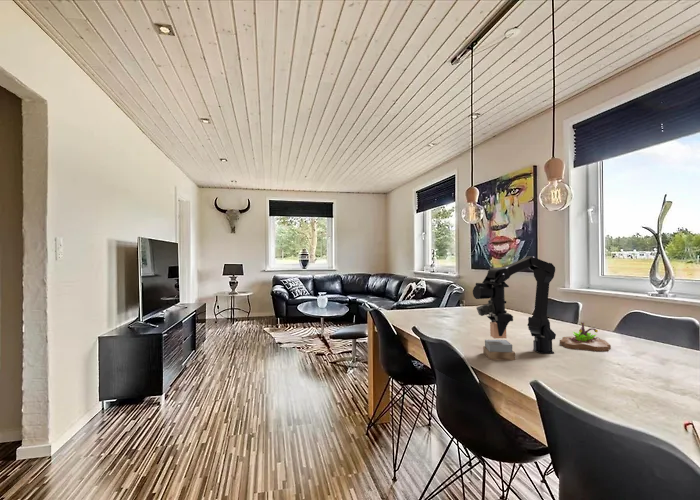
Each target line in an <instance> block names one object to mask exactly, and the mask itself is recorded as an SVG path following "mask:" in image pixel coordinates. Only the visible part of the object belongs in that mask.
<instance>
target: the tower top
mask: <svg viewBox="0 0 700 500" xmlns="http://www.w3.org/2000/svg"><path fill="white" fill-rule="evenodd" d="M484 346H485V347H486V348H487V349H488V350H489V352H512V351H513V344H512V343H511V342H510V341H508V339H487V338H486V339H484Z"/></svg>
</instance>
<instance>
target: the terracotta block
mask: <svg viewBox="0 0 700 500" xmlns="http://www.w3.org/2000/svg"><path fill="white" fill-rule="evenodd" d="M489 325H490V326H489V331H490V332H489V333H490V334H489V335H490V337H492V338H493V339H507V328H506V329H505V331H504V333H503V335H502V336H499V333H498V327H497V323H496V322H491V321H490V322H489Z"/></svg>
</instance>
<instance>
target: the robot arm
mask: <svg viewBox="0 0 700 500" xmlns="http://www.w3.org/2000/svg"><path fill="white" fill-rule="evenodd" d="M555 266H556V265H555ZM555 266H554V264H553V263H552V262H548V261H545V260H543V259H539V258H537V257H536V256H532V255H531V256H525V257H523V258H521V259H519V260H516V261H515V262H512V263H510V264H508V265H505V266H501V267H494V268H493V267H492V268H490V269H488V270H487V273H486V275H485V278H484V279H483V281H482V282H476V283H475V285H474V287H473V288H472V296H473V297H474V299H476V300H484V299H486V300H488V299H489V300H488V302H487V303H485V304H482V305H480V306H477V307H476V311H477V312H478V315H479V316H481V317H483V316H486V317H487V318H488V319H489V320H490V322H496V323H497V327H498V333H499V336H502V335H503V333H504V331H505V329H506V330H507V327H508V325H509V324H510V322H513V321H514V316H513V314H511V313H509V312H508V311H507V310H506V304H507V300H506V298H505V288H509V287H510V286H509V285H508V284H507V283H506V281H507V280H509V279H510V277H511V276H512V275H514V274H516V273H519V272H522V271H523V270H525V269H529V270H530V271H532V272H533V277H534V279H535V281H536V287H535V301H534V313H533V314H532V316H528V319H527V325H526V326H527V327H528V330H529V332H530V335H531V336H532V337H534V340H533V348H532V350H533V351H535V352H536V353H538V354H555V352H554V351H553V340H555V339H556V337H557V334H556V333H555V332H554V330H552V329H551V322H550V319H549V318H548V314H547V313H548V304H549V303H548V302H549V290H550V283H551V282H552V280H553V279H554V277H555V273H556V267H555Z"/></svg>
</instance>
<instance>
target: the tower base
mask: <svg viewBox="0 0 700 500" xmlns="http://www.w3.org/2000/svg"><path fill="white" fill-rule="evenodd" d="M482 348H483V349H482V350H483V355H484V356H486V357H487V358H488V360H492V361H493V360H494V361H497V360H499V361H501V360H503V361H510V360H511V361H515V360H516V352H515V351H514V350H512V352H489V350H488V349H487V348H486V347H485V345H484V346H482Z"/></svg>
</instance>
